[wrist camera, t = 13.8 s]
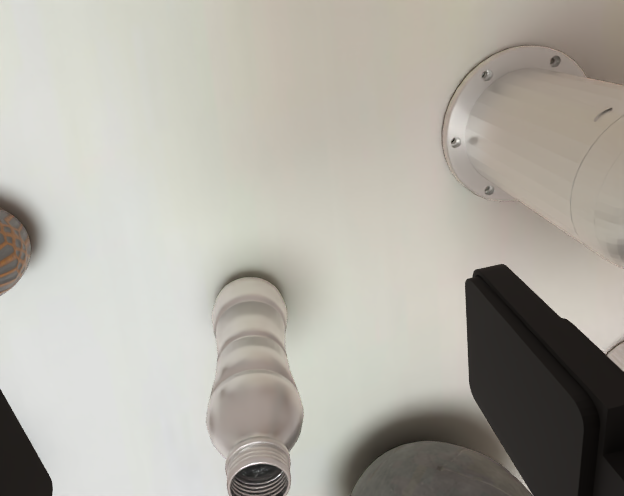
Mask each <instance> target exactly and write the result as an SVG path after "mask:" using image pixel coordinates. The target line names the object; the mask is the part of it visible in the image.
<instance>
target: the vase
mask: <svg viewBox="0 0 624 496" xmlns="http://www.w3.org/2000/svg"><path fill="white" fill-rule="evenodd" d="M30 255H31V244H30V239H29V236H28V233H27V231H26V229H25V228H24V226H23V225H22V224H21V222H20V221H19V220H18V219H17V218H15V217H14V216H13V215H12V214H10V213H9V212H7V211H5V210H3V209H0V296H1V295H2V294H4V293H6V292H7V291H9V290H10V289H11V288H12V287H13V286H14V285H15V284H16V283H17V282H18V281H19V280H20V278H21V277H22V275H23V274H24V272H25V270H26V269H27V266H28V264H29V260H30Z"/></svg>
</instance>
